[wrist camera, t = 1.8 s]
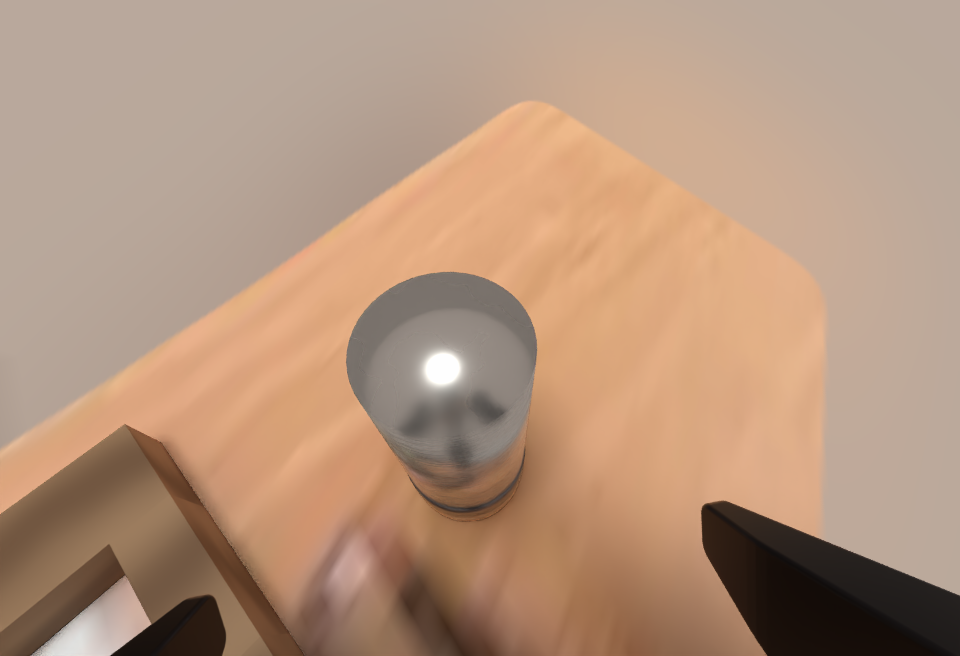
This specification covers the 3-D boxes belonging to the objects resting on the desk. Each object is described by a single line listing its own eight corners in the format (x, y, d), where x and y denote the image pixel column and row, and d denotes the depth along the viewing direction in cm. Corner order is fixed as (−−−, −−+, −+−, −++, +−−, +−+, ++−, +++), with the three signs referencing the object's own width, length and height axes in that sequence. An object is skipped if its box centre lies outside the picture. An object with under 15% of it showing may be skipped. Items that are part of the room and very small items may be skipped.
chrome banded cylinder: (542, 490, 20) (576, 385, 11) (438, 544, 19) (379, 477, 10) (493, 397, 23) (487, 248, 13) (399, 440, 22) (323, 310, 12)
